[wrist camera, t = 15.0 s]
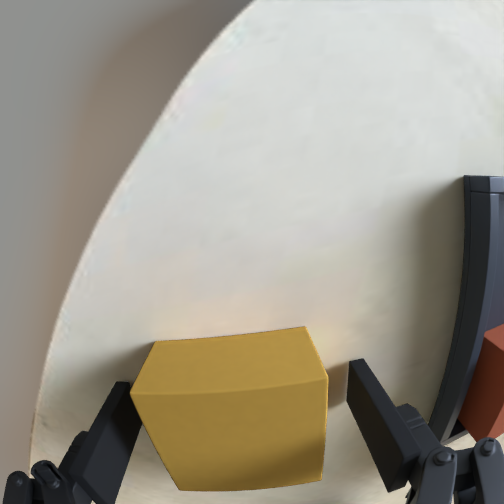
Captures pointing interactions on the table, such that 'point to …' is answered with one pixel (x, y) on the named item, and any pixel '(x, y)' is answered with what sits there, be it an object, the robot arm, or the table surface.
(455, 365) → the tray
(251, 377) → the pad mustard
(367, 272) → the table surface
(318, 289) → the table surface
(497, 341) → the pad terracotta
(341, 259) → the table surface
